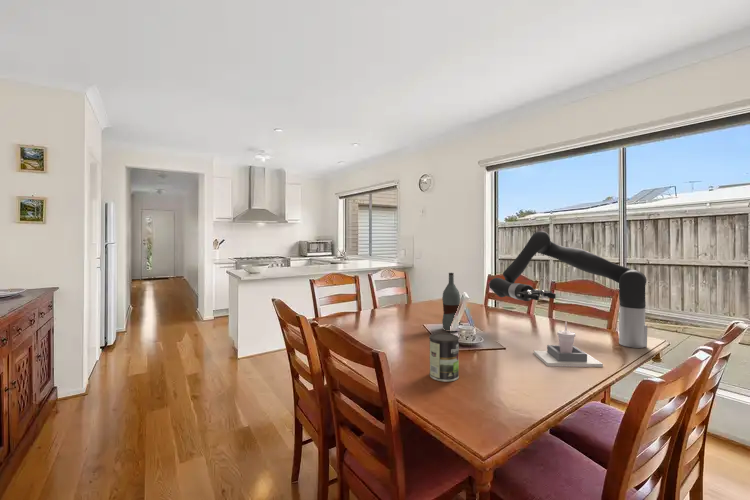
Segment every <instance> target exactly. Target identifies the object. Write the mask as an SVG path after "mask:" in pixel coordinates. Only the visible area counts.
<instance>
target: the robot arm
mask: <svg viewBox="0 0 750 500" xmlns="http://www.w3.org/2000/svg"><path fill="white" fill-rule="evenodd" d="M537 253H538V254H540V255H544V256H547V257H550V258H553V259H555V260H558V261H560V262H563V263H564V264H566V265H570V266H571V267H574V268H576V269H578V270H580V271H582V272H585V273H589V274H592V275H595V276H600V277H604V278H606V279H609V280H612V281H613V282H615V283H618V299H619V315H618V316H619V317H618V319H619V323H618V325H619V326H618V327H619V328H618V344H619V345H620V346H624V347H627V348H635V349H643V348H648V325H647V324H646V304H647V302H646V285H647V280H648V279H647V277H646V275H645V274H644V273H643V272H641V271H640V270H636V269H633V268H629V267H626V266H623V265H620V264H616V263H615V262H612V261H609V260H608V259H606V258H604V257H602V256H600V255H597V254H594V253H593V252H590V251H587V250H585V249H582V248H577V247H568V246H564V245H560V244H558V243H556V242H553V241H552V240H551V237H550V235H549V234H548V232H546V231H543V230H538V231H536V232H534V233H533V234H532V235H531V236H530V238H529V240H528V241H527V243H526V245H525V246H524V247H523V249H522V250H521V251H520V253H519V254H518V255H517V256H516V258H515V259H514V260H513V261H512V262H511V263H510V264H509V266H507V267H506V268H505V270H504V271H503V273H502V276H503V277H504V279H503V278H501V277H495V278H492V279H491V280H490V281H489V283H488V286H489V289H490V290H491V291H492V292H493V293H495V294H496V295H497V297H499V298H505V297H509V298H513V299H515V300H519V301H523V302H530V301H531V300H534V301H539V300H540V299H544V298H547V299H553V300H554V299H556V298H557V296H556V293H553V291H552V290H544V289H535V288H533V286H531V285H530V284H525V283H517V282H516V281H517V279H518V278H519V277H520V276H521V275H522V274H523V273H524V272H525V270H526V268H527V267H528V265H529V263H530V262H531V260H532V259H533V257H534V256H535V255H536V254H537Z"/></svg>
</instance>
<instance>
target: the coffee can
mask: <svg viewBox="0 0 750 500" xmlns="http://www.w3.org/2000/svg"><path fill="white" fill-rule="evenodd" d="M428 338H429V377H430V378H431V379H432V380H435V381H439V382H443V383H444V382H447V383H449V382H455V381H457V380H458V379H459V378H460V376H459V371H460V370H459V367H460V366H459V363H460V361H459V359H460V358H459V353H460V352H459V349H460V348H459V345H460V344H459V343H460V342H459V341H460V337H459V336H458V335H456V334H453V333H450V332H448V333H446V332H435V333H432V334H430V335H429V336H428Z"/></svg>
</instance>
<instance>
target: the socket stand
mask: <svg viewBox="0 0 750 500" xmlns="http://www.w3.org/2000/svg"><path fill="white" fill-rule="evenodd" d="M546 347H547V350H533V354H534V356H536V357H537V358H538V359H539V360H540V361H542V363H544V364H545V365H546V366H547V367H578V368H579V367H580V368H583V367H584V368H585V367H586V368H588V367H591V368H603V367H604V363H602V362H601V361H599V360H598V359H596V358H595V357H593V356H591V355H590V354H588V353H586V352H585V351H584V350H582V349H580V348H578V347H577V346H576V345H574V344H573V350H572V353H560V347H559V344H547V346H546Z"/></svg>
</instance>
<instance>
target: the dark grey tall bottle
mask: <svg viewBox="0 0 750 500" xmlns="http://www.w3.org/2000/svg"><path fill="white" fill-rule="evenodd" d="M454 277H455V275H454V272H448V284H447V285H446V287H445V288H444V290H443V291H442V307H443V308H442V309H443V310H442V311H443V315H442V329H443V328H444V329H445V330H450V326H451V323H452V321H453V318H454V315H455V313H456V311H457V308H458V306H459V304H460V303H461V294H460V291H459V289H458V287H456V284H455V283H454V282H455V281H454V279H455V278H454ZM459 307H460V306H459ZM459 325H460V326H461V321H460V322H459ZM444 329H443V330H444Z"/></svg>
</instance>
